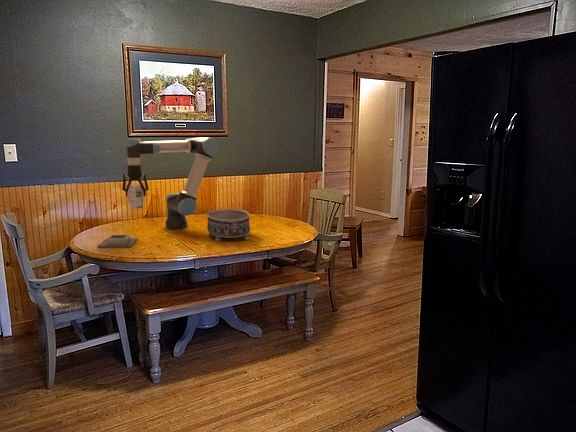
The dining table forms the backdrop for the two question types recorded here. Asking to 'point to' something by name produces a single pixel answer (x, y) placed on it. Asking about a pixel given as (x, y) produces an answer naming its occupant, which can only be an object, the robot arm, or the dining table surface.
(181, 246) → the dining table surface
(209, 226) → the decorative bowl
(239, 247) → the dining table surface
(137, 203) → the syrup box
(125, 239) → the mount plate
